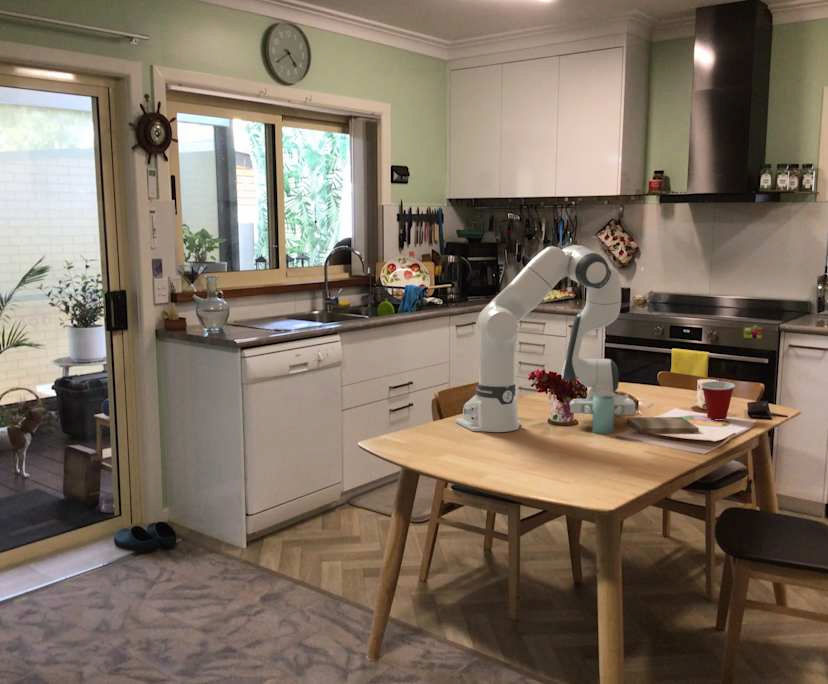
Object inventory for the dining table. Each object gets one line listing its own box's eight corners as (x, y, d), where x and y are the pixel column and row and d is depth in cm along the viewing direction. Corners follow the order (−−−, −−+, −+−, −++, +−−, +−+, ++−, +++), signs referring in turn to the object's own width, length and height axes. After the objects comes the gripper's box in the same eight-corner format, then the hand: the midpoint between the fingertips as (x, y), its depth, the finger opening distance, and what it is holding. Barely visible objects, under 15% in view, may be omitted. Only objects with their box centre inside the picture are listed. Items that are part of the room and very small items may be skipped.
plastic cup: (693, 418, 270) (694, 383, 269) (709, 414, 278) (710, 379, 276) (723, 424, 262) (725, 387, 261) (739, 419, 269) (741, 383, 268)
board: (640, 433, 250) (640, 428, 250) (627, 421, 266) (627, 417, 266) (698, 432, 250) (698, 428, 250) (681, 421, 266) (681, 417, 266)
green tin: (588, 431, 253) (588, 396, 252) (603, 428, 256) (604, 394, 255) (602, 435, 247) (603, 399, 246) (617, 432, 251) (618, 397, 249)
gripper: (569, 392, 265) (569, 400, 252) (633, 394, 261) (637, 403, 248) (568, 411, 266) (569, 420, 252) (632, 413, 262) (636, 423, 249)
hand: (603, 411), depth 250 cm, fingers closed on green tin, 6 cm apart
